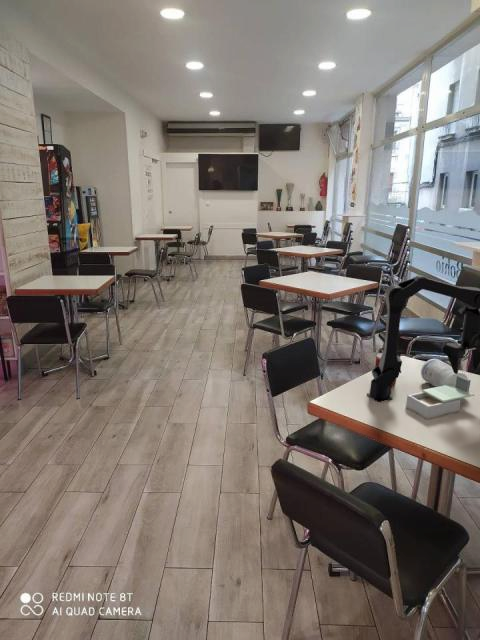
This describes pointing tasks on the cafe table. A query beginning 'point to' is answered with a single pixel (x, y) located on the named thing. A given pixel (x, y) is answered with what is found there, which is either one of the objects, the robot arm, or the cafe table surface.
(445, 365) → the supplement tub
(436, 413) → the white shallow box
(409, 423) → the cafe table surface
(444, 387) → the lid
